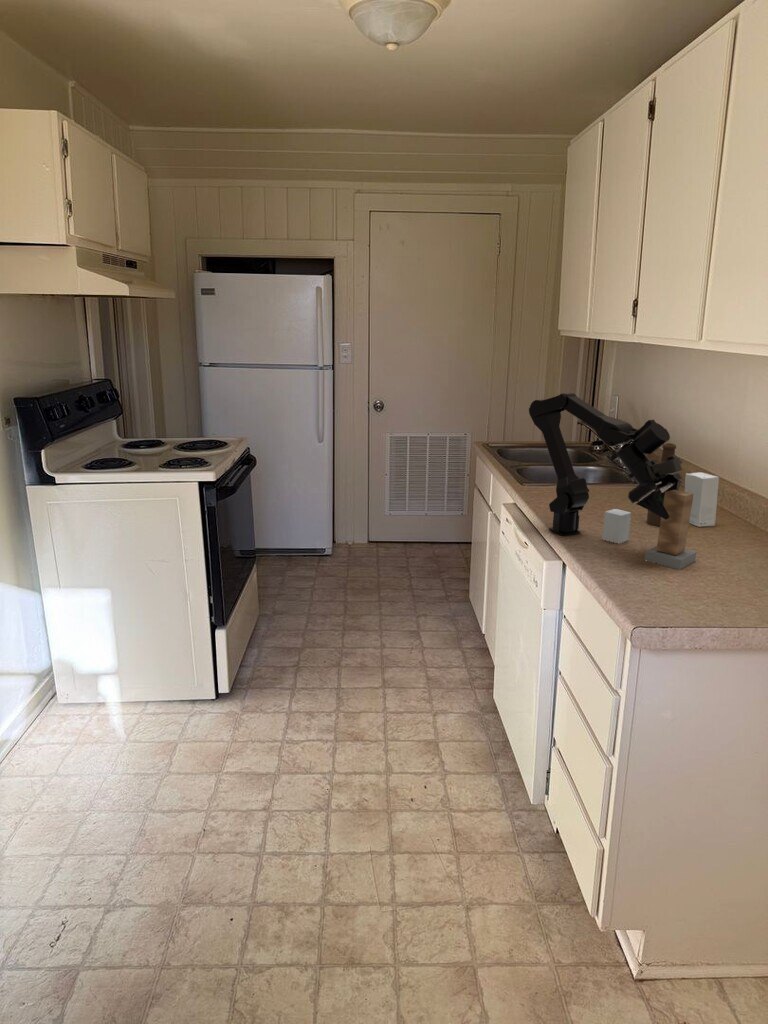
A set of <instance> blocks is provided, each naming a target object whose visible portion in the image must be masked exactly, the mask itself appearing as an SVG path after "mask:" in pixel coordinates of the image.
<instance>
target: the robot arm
mask: <svg viewBox="0 0 768 1024" xmlns="http://www.w3.org/2000/svg"><path fill="white" fill-rule="evenodd" d="M565 411H566V412H567V413H570V414H571V415H572V416H573V417H575V418H577V419H578V420H580V421H582V422H583V423H584V424H586V425H587V426H589V427H590V428H592V429H593V430H594V431H595V434H596V435H597V437H598V439H600V440H601V441H602V442H603V443H604V444H605V445H606V446H609V447H615V446H620V445H622V446H621V447H620V448H615V449H613V450H611V455H610V456H611V457H610V460H611V462H613V461H617V460H620V461H621V463H622V464H623V466H625V468H626V469H627V471H628V472H629V473H630V474H628V475H627V476H628V477H629V479H634V480H635V482H636V483H637V484H638V485H637V486H635V487H634V488H632V490H631V491H629V492H628V495H627V498H628V500H629V501H630V502H631V504H635V505H636V506H640V507H642V508H644V509H645V510H647V511H648V510H649V511H651V512H653V513H655V514H657V515H658V516H660V517H662V518H664V519H665V520H666V519H668V518H669V515H668V513H667V511H666V509H665V507H664V506H663V504H662V502H661V501H660V499H659V496H660V497H662V498H663V499H664V496H665V492H667V491H671V490H677V491H680V487H681V484H682V480H683V477H682V476H681V474H680V473H679V471H682V470H683V468H682V464H683V460H682V459H681V458H680V457H679V456H677V455H676V454H675V455H673V456H669V457H667V459H666V462H662V463H661V462H659V463H658V461H656V459H650V458H649V457H648V456H647V454H648V455H652V454H654V452H656V451H657V450H658V449H660V447H661V448H662V446H663V444H666V443H667V442H668V441H669V440H670V439H671V437H670V433H669V431H668V430H667V428H666V427H665V428H664V426H662V424H660V423H657V422H656V421H655V419H648V420H647V421H646V422H645V423H644V425H642V426H641V427H640V428H635V427H634V426H633V425H632V424H630V423H629V422H627V421H625V420H622V419H620V418H616V417H611V416H608V415H606V414H605V413H603V412H602V411H600V410H598V409H597V408H596V407H594V406H592V405H591V404H589V403H588V402H586V401H585V400H583V399H581V398H580V397H578V395H576V394H575V393H573V392H566V393H560V394H558V395H556V396H553V397H552V396H551V397H549V398H544V399H543V398H542V399H535V400H533V401H532V402H531V403H530V405H529V408H528V413H529V416H530V418H531V420H532V423H533V424H534V426H535V427H537V429H538V430H540V432H541V433H542V436H543V439H544V442H545V445H546V447H547V451H548V454H549V457H550V460H551V463H552V466H553V469H554V473H555V475H556V478H557V481H556V482H557V483H556V488H555V493H556V497H555V498H554V499H553V500H552V501H551V502H550V503H549V505H548V506H549V512H551V513H553V516H552V517H553V518H552V527H549V531H551V530H552V532H554V533H555V532H556V534H557V533H558V535H559V534H560V536H567V535H577V534H581V530H579V528H580V527H579V526H580V515H579V513H580V512H579V511H583V509H584V506H585V505H586V504H587V503H588V500H589V498H590V496H589V495H590V494H589V493H590V489H589V488H588V485H587V480H586V478H585V477H581V478H580V477H578V476H577V475H576V473H575V470H574V467H573V464H572V460H571V458H570V455H569V452H568V450H567V446H566V444H565V440H564V437H563V434H562V431H561V427H560V426H561V425H560V424H561V420H562V414H561V413H562V412H565ZM631 441H632V442H631ZM667 473H669V474H667ZM659 493H662V494H660V495H659Z"/></svg>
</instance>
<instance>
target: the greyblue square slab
mask: <svg viewBox="0 0 768 1024" xmlns="http://www.w3.org/2000/svg"><path fill="white" fill-rule="evenodd" d="M656 549H657V545H656V546H654V547H652V548H649V549H648V550H646V551H645V554H644V561H645V560H647V561H650V562H649V563H651V562H654V563H653V564H655V563H657V564H656V565H659V564H660V565H659V566H663V565H664V567H667V566H668V567H667V568H671V569H676V570H682V569H685V567H687V566H689V565H691V564H693V563H695V562H696V557H697V551H694V550H690V549H686V548H685V551H684V552H683V553H680V554H678V555H673V554H669V553H665V552H661V551H657V550H656ZM647 561H646V562H647Z"/></svg>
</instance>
